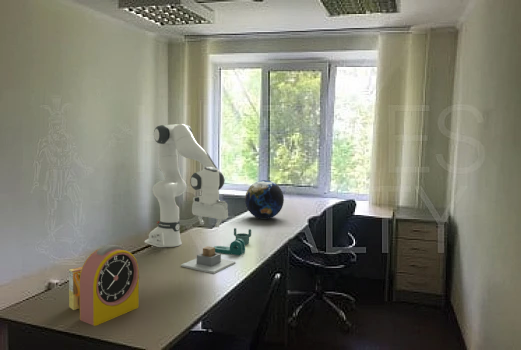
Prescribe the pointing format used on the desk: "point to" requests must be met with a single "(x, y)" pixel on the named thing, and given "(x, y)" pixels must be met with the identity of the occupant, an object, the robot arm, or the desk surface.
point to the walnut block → (209, 251)
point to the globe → (264, 199)
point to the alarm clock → (108, 285)
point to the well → (208, 263)
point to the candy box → (74, 288)
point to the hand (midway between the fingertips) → (209, 225)
